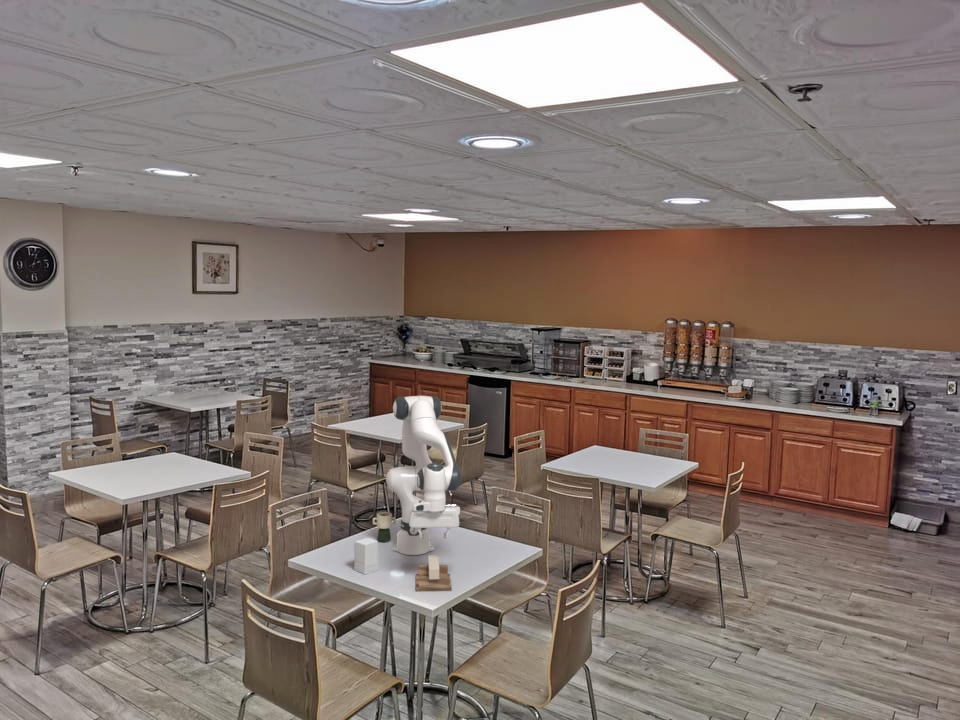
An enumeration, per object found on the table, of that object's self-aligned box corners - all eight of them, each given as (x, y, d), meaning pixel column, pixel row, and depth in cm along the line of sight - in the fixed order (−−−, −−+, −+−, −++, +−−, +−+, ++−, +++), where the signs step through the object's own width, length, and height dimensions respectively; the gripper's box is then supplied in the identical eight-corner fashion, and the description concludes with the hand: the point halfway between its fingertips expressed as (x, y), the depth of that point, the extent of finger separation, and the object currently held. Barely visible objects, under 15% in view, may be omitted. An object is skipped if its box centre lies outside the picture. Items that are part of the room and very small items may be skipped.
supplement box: (378, 570, 300) (378, 541, 299) (364, 574, 295) (365, 545, 294) (367, 565, 305) (367, 537, 304) (353, 570, 300) (353, 541, 299)
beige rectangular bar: (428, 564, 294) (428, 555, 294) (437, 564, 294) (437, 555, 294) (429, 579, 278) (429, 569, 278) (439, 579, 279) (439, 569, 278)
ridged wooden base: (415, 576, 294) (416, 565, 293) (449, 576, 295) (449, 564, 295) (416, 591, 279) (416, 579, 278) (451, 590, 280) (451, 578, 280)
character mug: (395, 537, 343) (395, 511, 342) (395, 542, 336) (395, 515, 335) (372, 538, 341) (372, 512, 340) (372, 543, 334) (372, 516, 333)
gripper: (459, 502, 289) (459, 535, 290) (409, 502, 287) (408, 535, 288) (460, 506, 282) (460, 540, 284) (409, 506, 280) (408, 540, 282)
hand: (433, 537), depth 286 cm, fingers open, 8 cm apart
